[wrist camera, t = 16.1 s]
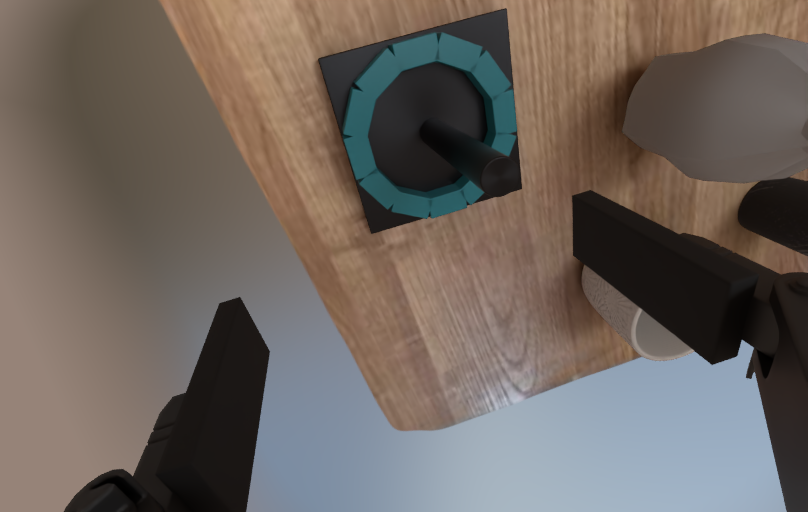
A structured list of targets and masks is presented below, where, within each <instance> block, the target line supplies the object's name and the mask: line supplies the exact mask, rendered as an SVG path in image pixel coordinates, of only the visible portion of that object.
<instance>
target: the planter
mask: <svg viewBox="0 0 808 512" xmlns="http://www.w3.org/2000/svg"><path fill="white" fill-rule="evenodd" d="M582 287H583V291H584V293H585V295H586V297H587V299H588V301H589V302H590V303H591V305H592V306H593V307H594V308H595V310H596V311H597V312H598V313H599V314H600V315H601V316H602V318H603V319H604V320H605V321H606V322H607V323H608V324H609V325H610V326H611V327H612V328H613V329H614V330H615V331H616V332H617V333H618V334H619V335H620V336H621V337H622V338H623V339H624V340H625V341H626V342H627V343H628V344H629V345H630V346H631V347H632V348H633V349H634V350H635V351H636V352H637V353H638V354H639V355H641V356H642V357H644V358H647V359H650V360H655V361H667V360H673V359H677V358H680V357H683V356H686V355H688V354H690V353H692V352H694V350H693V349H691V348H690V347H689V346H687V345H686V344H685V343H684V342H682V341H681V340H680V339H679V338H677V337H676V336H675V335H674V334H672V333H671V332H670V331H668V330H667V329H666V328H665V327H663V326H662V325H661V324H660V323H658V322H657V321H656V320H654V319H653V318H652V317H651V316H649V315H648V314H647V313H646V312H644V311H643V310H642V309H640V308H639V307H638V306H637V305H635V304H634V303H633V302H632V301H630V300H629V299H628V298H627V297H625V296H624V295H623V294H621V293H620V292H619V291H618V290H616V289H615V288H614V287H613V286H611V285H610V284H609V283H607V282H606V281H605V280H604V279H602V278H601V277H600V276H599V275H597V274H596V273H595V272H593V271H592V270H591V269H590V268H588V267H587V266H586V265H584V267H583V271H582Z"/></svg>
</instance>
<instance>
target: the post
mask: <svg viewBox="0 0 808 512" xmlns="http://www.w3.org/2000/svg"><path fill="white" fill-rule="evenodd" d="M434 32H436V33H441V32H443V33H446V34H448V35H451V36H454V37H457V38H460V39H462V40H465V41H468V42H471V43H474V44H476V45H479V46H482V50H487V51H488V53H489V54H490V55H491V57H492V58H493V60H494V61H495V62H496V64H497V65H498V66H499V68H500V69H501V71H502V72H503V73H504V75H505V76H506V78H507V79H508V80H509V82H510V83H511V86H510V87H509V88H508V89H513V77H512V66H511V54H510V42H509V30H508V18H507V9H506V8H505V9H501V10H497V11H494V12H490V13H486V14H482V15H479V16H475V17H471V18H467V19H464V20H460V21H456V22H452V23H449V24H445V25H441V26H437V27H434V28H430V29H426V30H423V31H419V32H415V33H411V34H408V35H404V36H400V37H396V38H393V39H389V40H385V41H381V42H378V43H374V44H370V45H366V46H363V47H359V48H355V49H351V50H348V51H344V52H340V53H337V54H333V55H329V56H325V57H322V58H319V59H318V61H319V64H320V67H321V70H322V74H323V77H324V80H325V84H326V87H327V90H328V93H329V97H330V100H331V103H332V106H333V110H334V113H335V116H336V120H337V123H338V126H339V129H340V133H341V136H342V135H344V134H343V131H342V127H343V122H344V118H345V113H346V108H347V103H348V98H349V94H350V89H351V87H354V88H357V89H359V88H358V87H357V85H356V84H355V83H354V81H355V79H356V78H357V77H358V76H359V75H360V74H361V73H362V72H363V70H364V69H365V68H366V67H367V66H368V65H369V64H370V63H371V61H372V60H373V59H374V58H375V57H376V56H377V55H378V53H379V52H380V51H381V50H382V49H383V48H388V49H389V47H388V45H390V44H393V43H397V42H400V41H404V40H407V39H411V38H414V37H418V36H422V35H425V34H429V33H434ZM513 93H514V89H513ZM514 104H515V101H514ZM515 114H516V113H515ZM487 131H488V127H487V120H486V112H485V105H484V97H483V96H482V95H481V94H480V92H479V91H478V90H477V88H476V87H475V86H474V85H473V83H472V82H471V81H470V79H469V78H468V77H467V76H466V74H465V73H464V72H463V71H461V70H458V69H455V68H452V67H449V66H445V65H442V64H439V63H436V62H433V63H429V64H426V65H422V66H419V67H415V68H412V69H408V70H405V71H402V72H401V73H400V74H399V75H398V76H397V77H396V79H395V80H394V81H393V82H392V83H391V84H390V85H389V86H388V87H387V88H386V89H385V91H384V92H383V93H382V94H381V95H380V96H379V97H378V98H377V99H376V103H375V107H374V111H373V115H372V120H371V124H370V128H369V132H368V139H369V143H370V146H371V150H372V153H373V157H374V160H375V164H376V166H377V167H378V168H379V169H380V170H381V171H382V172H383V173H384V174H385V175H386V176H387V177H388V178H389V179H390V180H391V181H392V182H393V183H394V184H395V185H396V186H400V187H404V188H409V189H413V190H418V191H422V192H428V191H431V190H435V189H438V188H441V187H445V186H448V185H451V184H454V183H455V182H456V181H457V180H458V179H459V178H460V177H461V176H462V175H464V176H465V177H466V178H468V179H469V180H470V181H471V182H472V183H474V184H475V185H476V186H477V187H478V188H480V189H481V190H482V191H483V192H485V193H483V194H482V195H481V196H480V197H479V198H478V199H477V200H476V201H475V202H474V203H477V202H480V201H483V200H487V199H490V198H493V197H501V196H504V195H506V194H508V193H510V192H513V191H517V190H520V189H522V184H521V172H520V160H519V148H518V136H517V131H516V132H513V133H510V134H513V135H515V136H516V139H515V142H514V144H513V147H512V150H511V152H510V155H509V157H508V156H506V155H505V154H503V153H501V152H499V151H497V150H495V149H493V148H491V147H490V146H488V145H486V144H484V140H485V137H486V134H487ZM342 139H343V136H342ZM343 143H344V140H343ZM344 146H345V143H344ZM345 149H346V146H345ZM346 152H347V149H346ZM347 156H348V159H349V155H348V152H347ZM349 162H350V159H349ZM350 166H351V169H352V172H353V175H354V179H355V182H356V185H357V188H358V192H359V195H360V198H361V202H362V205H363V208H364V211H365V215H366V218H367V221H368V225H369V228H370V231H371V234H373V233H376V232H380V231H383V230H386V229H390V228H393V227H396V226H400V225H403V224H406V223H410V222H413V221H416V220H420V219H423V218H420V217H415V216H411V215H406V214H401V213H396V212H392V211H391V209H390V208H389V209H388V210H387V209H386V208H385V207H384V206H383V205H382V204H381V203H379V202H378V201H377V200H376V199H375V198H374V197H373V196H372V195H371V194H369V193H368V192H367V191H366V190H365V189H364V188H363V187H362V186H361V185H359V182H358V180H356V178H355V174H354V171H353V168H352V165H351V162H350ZM466 204H467V205H470V204H469V203H468V202H467V201H466ZM428 217H430V215H428Z"/></svg>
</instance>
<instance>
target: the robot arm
mask: <svg viewBox="0 0 808 512" xmlns="http://www.w3.org/2000/svg"><path fill="white" fill-rule="evenodd" d="M572 203H573V256H574V257H576V258H577V259H578V260H580V261H581V262H582V263H583V264H585V265H586V266H587V267H588V268H590V269H591V270H592V271H593V272H595V273H596V274H597V275H599V276H600V277H601V278H602V279H604V280H605V281H606V282H607V283H609V284H610V285H611V286H613V287H614V288H615V289H616V290H618V291H619V292H620V293H621V294H623V295H624V296H625V297H627V298H628V299H629V300H630V301H632V302H633V303H634V304H635V305H637V306H638V307H639V308H640V309H642V310H643V311H644V312H646V313H647V314H648V315H649V316H651V317H652V318H653V319H654V320H656V321H657V322H658V323H660V324H661V325H662V326H663V327H665V328H666V329H667V330H668V331H670V332H671V333H672V334H674V335H675V336H676V337H677V338H679V339H680V340H681V341H682V342H684V343H685V344H686V345H687V346H689V347H690V348H691V349H693V350H694V351H695V352H696V353H698V354H699V355H700V356H702V357H703V358H704V359H705V360H707V361H708V362H709V363H710V364H712V365H713V364H716V363H719V362H722V361H724V360H728V359H731V358H734V357H736V356H737V355H738V351H739V348H740V344H741V340H744V341H745V342H747V343H748V344H750V345H751V346H753V347H754V350H753V353H752V357H751V360H750V363H749V367H748V370H747V375H746V378H750V379H751V378H752V375H753V373H754V372H755V374H756V378H757V383H758V387H759V392H760V395H761V400H762V405H763V409H764V414H765V418H766V422H767V427H768V430H769V435H770V440H771V444H772V449H773V453H774V457H775V462H776V466H777V471H778V475H779V479H780V484H781V488H782V493H783V496H784V501H785V506H786V510H787V512H808V273H804V272H794V273H786V274H782V275H781V274H779V273H776V272H774V271H772V270H770V269H768V268H766V267H764V266H762V265H760V264H758V263H756V262H753V261H751V260H749V259H747V258H745V257H743V256H741V255H739V254H737V253H732V251H730V250H728V249H726V248H724V247H720V246H719V245H718V244H716V243H714V242H712V241H709V240H707V239H705V238H703V237H699V236H695V235H691V234H686V233H682V234H677V233H675V232H673V231H671V230H669V229H667V228H665V227H663V226H661V225H659V224H657V223H655V222H653V221H651V220H649V219H647V218H645V217H643V216H641V215H639V214H637V213H635V212H633V211H631V210H629V209H627V208H625V207H623V206H621V205H619V204H617V203H615V202H613V201H611V200H609V199H607V198H605V197H603V196H601V195H599V194H597V193H595V192H593V191H591V190H589V191H586V192H583V193H579V194H576V195H573V196H572ZM269 353H270V351H269V349H268V347H267V346H266V344H265V342H264V340H263V338H262V336H261V334H260V333H259V331H258V329H257V327H256V325H255V323H254V322H253V320H252V318H251V316H250V314H249V312H248V311H247V309H246V307H245V305H244V303H243V301H242V300H241V298H240V297H239V298H236V299H232V300H229V301H226V302H222V303H220V304H219V306H218V309H217V311H216V314H215V317H214V319H213V322H212V325H211V327H210V330H209V333H208V335H207V338H206V341H205V343H204V346H203V349H202V351H201V354H200V357H199V360H198V362H197V365H196V367H195V370H194V373H193V375H192V378H191V381H190V383H189V386H188V389H187V391H186V393H184V394H180V395H177V396H174V397H172V399H171V400H170V401H169V402H168V404H167V405H166V406H165V407H164V409H163V410H162V411H161V412H160V414H159V417H158V419H157V421H156V424H155V426H154V428H153V430H154V432H152V433H151V435H150V438H149V440H148V445H147V446H146V447H145V450H144V452H143V454H142V456H141V459H140V461H139V463H138V466H137V468H136V471H135V473H134V475H133V476H132V475H131V474H129V473H128V472H127V471H125V470H123V469H117V470H112V471H109V472H107V473H104V474H102V475H100V476H98V477H97V478H95V479H94V480H92V481H91V482H89V483H88V484H87V485H86V486H85V487H84V488H83V489H82V490H80V491H79V492H78V493H77V494H76V495H75V496H74V498H73V499H72V500H71V502H70V503H69V504H68V506H67V507H66V508H65V511H64V512H246V509H247V502H248V495H249V489H250V482H251V475H252V467H253V462H254V455H255V448H256V441H257V434H258V428H259V421H260V414H261V407H262V400H263V393H264V387H265V380H266V373H267V367H268V360H269Z"/></svg>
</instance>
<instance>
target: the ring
mask: <svg viewBox="0 0 808 512" xmlns="http://www.w3.org/2000/svg"><path fill="white" fill-rule="evenodd" d="M388 47H389V49H388V48H383V49H382V50H381V51H380V52H379V53H378V55H377V56H376V57H375V58H374V59H373V60H372V61H371V63H370V64H369V65H368V66H367V67H366V68H365V69H364V70H363V72H362V73H361V74H360V75H359V76H358V77H357V78H356V79H355V81H354V83H355V84H356V85H357V87H358V88H359V89H357V88H354V87H351V89H350V94H349V98H348V103H347V108H346V113H345V118H344V122H343V127H342V131H343V134H344V135H342V136H343V140H344V143H345V146H346V149H347V152H348V155H349V159H350V162H351V165H352V168H353V171H354V174H355V178H356V180H358V182H359V185H361V186H362V187H363V188H364V189H365V190H366V191H367V192H368V193H369V194H371V195H372V196H373V197H374V198H375V199H376V200H377V201H378V202H379V203H381V204H382V205H383V206H384V207H385V208H386V209H387V210H388V209H389V208H390V209H391V211H392V212H396V213H401V214H406V215H411V216H415V217H420V218H425V219H427V218H428V215H430V217H431V218H435V217H439V216H442V215H445V214H448V213H451V212H455V211H458V210H461V209H464V208H467V204H466V201H467V202H468V203H469V204H470V205H472V204H473V203H474V202H475V201H476V200H477V199H478V198H479V197H480V196H481V195H482V194H483V193H485V192H483V191H482V190H481V189H480V188H478V187H477V186H476V185H475V184H474V183H472V182H471V181H470V180H469V179H468V178H466V177H465V176H464V175H462V176H461V177H460V178H459V179H458V180H457V181H456V182H455V183H454V184H451V185H448V186H445V187H441V188H438V189H435V190H431V191H428V192H422V191H418V190H413V189H409V188H404V187H400V186H396V185H395V184H394V183H393V182H392V181H391V180H390V179H389V178H388V177H387V176H386V175H385V174H384V173H383V172H382V171H381V170H380V169H379V168H378V167H377V166H376V164H375V160H374V157H373V153H372V150H371V146H370V143H369V139H368V132H369V128H370V124H371V120H372V115H373V111H374V107H375V103H376V99H377V98H378V97H379V96H380V95H381V94H382V93H383V92H384V91H385V89H386V88H387V87H388V86H389V85H390V84H391V83H392V82H393V81H394V80H395V79H396V77H397V76H398V75H399V74H400V73H401V72H402V71H405V70H408V69H412V68H415V67H419V66H422V65H426V64H429V63H433V62H436V63H439V64H442V65H445V66H449V67H452V68H455V69H458V70H461V71H463V72H464V73H465V74H466V76H467V77H468V78H469V79H470V81H471V82H472V83H473V85H474V86H475V87H476V88H477V90H478V91H479V92H480V94H481V95H482V96H483V97H484V105H485V112H486V120H487V127H488V131H487V134H486V137H485V140H484V144H486V145H488V146H490V147H491V148H493V149H495V150H497V151H499V152H501V153H503V154H505V155H506V156H508V157H509V155H510V152H511V150H512V147H513V144H514V142H515V139H516V136H515V135H513V134H510V133H513V132H516V131H517V124H516V114H515V104H514V93H513V89H508V88H509V87H510V86H511V83H510V82H509V80H508V79H507V78H506V76H505V75H504V73H503V72H502V71H501V69H500V68H499V66H498V65H497V64H496V62H495V61H494V60H493V58H492V57H491V55H490V54H489V53H488V51H487V50H482V46H479V45H476V44H474V43H471V42H468V41H465V40H462V39H460V38H457V37H454V36H451V35H448V34H446V33H443V32H441V33H436V32H434V33H429V34H425V35H422V36H418V37H414V38H411V39H407V40H404V41H400V42H397V43H393V44H390V45H388Z"/></svg>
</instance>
